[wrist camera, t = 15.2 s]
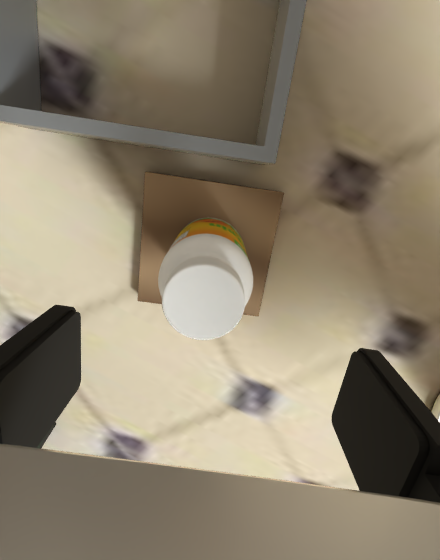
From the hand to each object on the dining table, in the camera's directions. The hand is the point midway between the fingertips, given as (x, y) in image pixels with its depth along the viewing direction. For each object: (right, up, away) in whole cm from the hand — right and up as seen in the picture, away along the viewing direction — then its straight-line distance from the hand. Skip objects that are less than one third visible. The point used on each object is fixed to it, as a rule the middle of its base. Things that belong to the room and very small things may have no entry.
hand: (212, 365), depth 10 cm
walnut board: (-1, +6, +14) cm, 15 cm away
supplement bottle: (-1, +5, +13) cm, 14 cm away
